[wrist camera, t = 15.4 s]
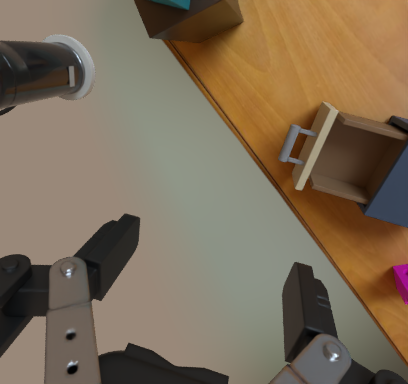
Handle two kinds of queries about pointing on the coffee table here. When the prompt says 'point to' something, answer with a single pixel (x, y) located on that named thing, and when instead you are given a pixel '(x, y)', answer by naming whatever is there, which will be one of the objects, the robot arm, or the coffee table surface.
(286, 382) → the robot arm
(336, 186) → the drawer
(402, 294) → the toy block
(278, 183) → the coffee table surface
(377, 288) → the coffee table surface
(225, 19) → the stand
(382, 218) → the cabinet
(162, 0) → the block
